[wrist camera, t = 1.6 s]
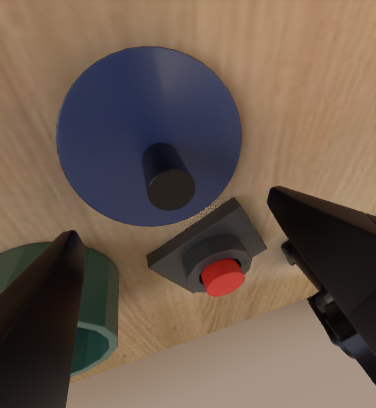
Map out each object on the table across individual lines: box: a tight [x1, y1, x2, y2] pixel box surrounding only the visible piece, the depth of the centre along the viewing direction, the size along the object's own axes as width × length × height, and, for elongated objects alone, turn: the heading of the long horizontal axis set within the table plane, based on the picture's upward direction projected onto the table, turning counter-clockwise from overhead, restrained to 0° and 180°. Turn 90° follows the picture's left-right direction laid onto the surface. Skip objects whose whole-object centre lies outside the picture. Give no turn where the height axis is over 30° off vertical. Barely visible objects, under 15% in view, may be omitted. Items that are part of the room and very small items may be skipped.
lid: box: [56, 46, 242, 227], centre depth 12 cm, size 12×12×5 cm
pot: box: [0, 243, 119, 377], centre depth 16 cm, size 11×11×6 cm
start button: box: [201, 258, 245, 296], centre depth 19 cm, size 4×4×2 cm
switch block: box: [147, 198, 267, 293], centre depth 21 cm, size 9×11×4 cm
